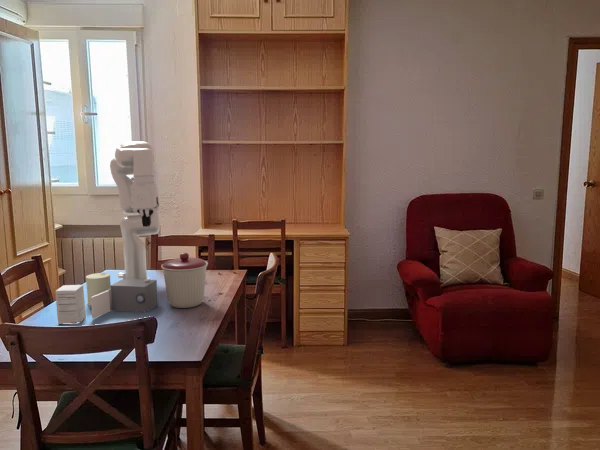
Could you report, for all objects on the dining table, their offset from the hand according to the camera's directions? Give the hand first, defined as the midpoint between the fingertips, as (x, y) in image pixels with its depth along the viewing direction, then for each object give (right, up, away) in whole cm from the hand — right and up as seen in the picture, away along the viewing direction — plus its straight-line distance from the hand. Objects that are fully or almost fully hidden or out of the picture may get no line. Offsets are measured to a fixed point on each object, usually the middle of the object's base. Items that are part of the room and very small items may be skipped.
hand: (146, 226), depth 193 cm
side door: (-13, -33, -13) cm, 38 cm away
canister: (+16, -32, -1) cm, 36 cm away
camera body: (-3, -32, -4) cm, 32 cm away
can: (-20, -32, +2) cm, 37 cm away
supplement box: (-21, -35, -19) cm, 45 cm away
